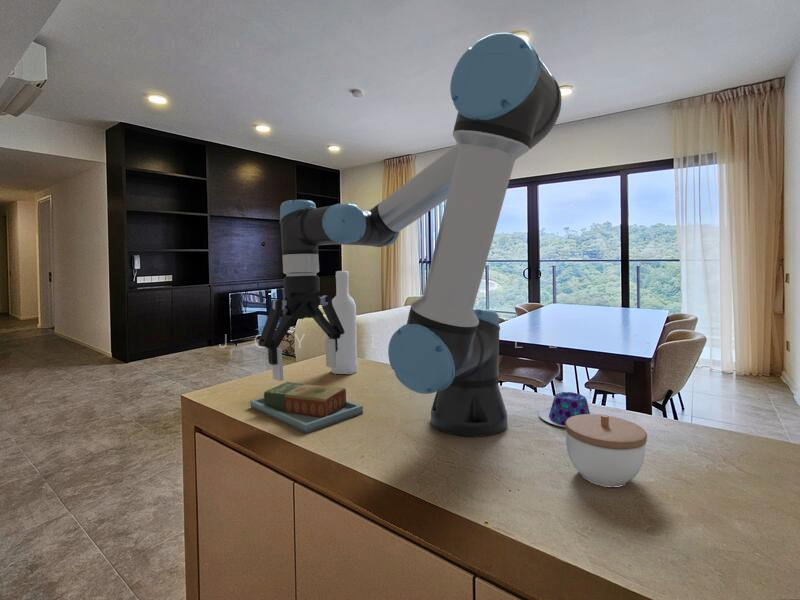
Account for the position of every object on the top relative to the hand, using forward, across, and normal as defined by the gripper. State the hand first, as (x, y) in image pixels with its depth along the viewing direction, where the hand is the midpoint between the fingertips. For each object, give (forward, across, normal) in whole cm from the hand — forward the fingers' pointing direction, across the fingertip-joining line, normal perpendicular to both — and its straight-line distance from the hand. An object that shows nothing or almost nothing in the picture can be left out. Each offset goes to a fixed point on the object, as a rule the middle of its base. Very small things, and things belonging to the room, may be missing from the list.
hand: (306, 373), depth 90 cm
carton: (+8, 0, -1) cm, 8 cm away
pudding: (+10, -33, +44) cm, 56 cm away
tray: (+8, 0, -1) cm, 8 cm away
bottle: (+8, -27, -20) cm, 35 cm away
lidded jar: (+10, -13, +57) cm, 59 cm away
